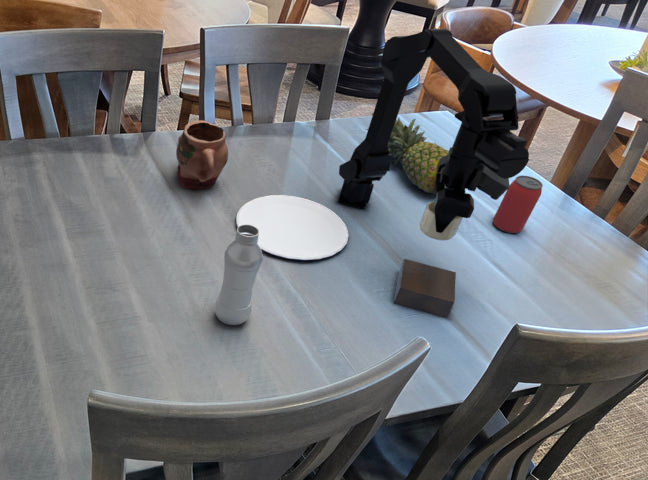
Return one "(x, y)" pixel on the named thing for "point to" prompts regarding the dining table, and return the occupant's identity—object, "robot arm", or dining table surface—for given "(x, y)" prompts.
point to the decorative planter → (201, 154)
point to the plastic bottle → (239, 276)
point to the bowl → (430, 227)
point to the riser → (425, 288)
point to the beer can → (518, 204)
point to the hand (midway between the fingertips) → (439, 222)
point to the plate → (294, 227)
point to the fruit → (416, 155)
